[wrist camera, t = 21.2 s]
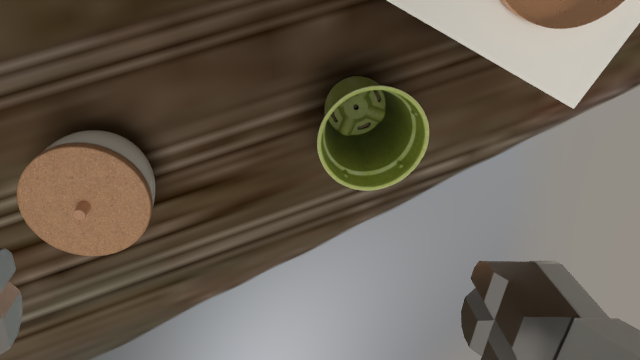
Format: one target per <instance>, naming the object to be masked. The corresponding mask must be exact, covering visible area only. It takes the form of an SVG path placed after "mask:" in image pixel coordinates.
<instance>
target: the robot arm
mask: <svg viewBox="0 0 640 360" xmlns="http://www.w3.org/2000/svg"><path fill="white" fill-rule="evenodd" d="M15 270H16V268H15V264H14V260H13V256H12V253H11V252H9V251H8V250H7V249H3V248H0V355H1V354H2V353H4V352H5V351H7V350H8V349H10V347H11V346H12V344H13V342H14V340H15V338H16V336H17V334H18V331H19V327H20V323H21V319H22V299H21V293H20V291H19V290H18V289H17V288H16V287H15V286H14V285H12V284H11V283H10V282H9V279H10V278H11V276H12V275H13V273H14V272H15ZM471 280H472V282H473V284H474V286H475V289H474V290H473V291H472V292H470V293H469V294H468V295H467V296H466V297H465V299H464V303H463V307H462V311H461V320H462V321H461V322H462V329H463V333H464V337H465V339H466V341H467V343H468V346H469V347H470V348H471V349H472V350H474V351H475V352H476V353H478V354H479V355H480V356H482V358H481V360H640V330H638V329H636V328H634V327H632V326H631V325H629V324H627V323H625V322H623V321H621V320H620V319H611V318H609V317H608V316H607V314H606V313H605V312H604V311H603V310H602V309H601V308H600V307H599V306H598V304H597V303H596V302H595V301H594V300H593V299H592V298H591V296H590V295H589V294H588V293H587V292H586V291H585V290H584V289H583V287H582V286H581V285H580V284H579V283H578V282H577V281H576V280H575V278H574V277H573V276H572V275H571V274H570V273H569V272H568V271H567V270H566V268H565V267H564V266H563V265H562V264H560V263H558V262H556V261H529V262H510V261H479V262H478V263H477V265H476V266H475V267H474V270H473V273H472V276H471Z"/></svg>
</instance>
